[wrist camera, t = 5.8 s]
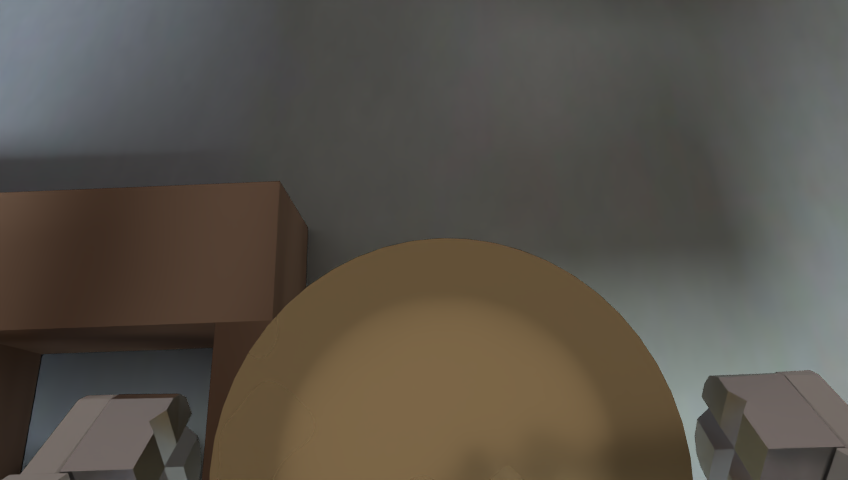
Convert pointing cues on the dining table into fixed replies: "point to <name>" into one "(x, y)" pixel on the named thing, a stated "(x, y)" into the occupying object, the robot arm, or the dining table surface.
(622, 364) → the loose billet
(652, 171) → the dining table surface
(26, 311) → the wooden socket block
